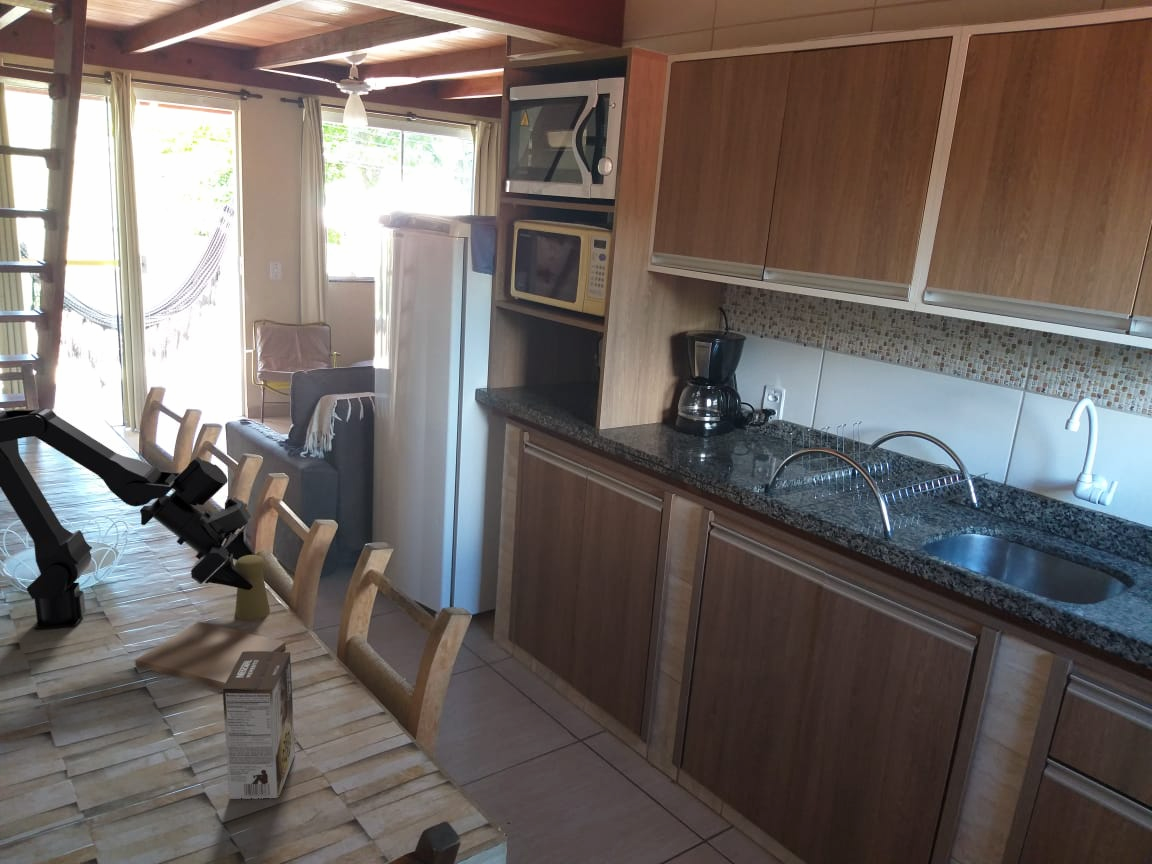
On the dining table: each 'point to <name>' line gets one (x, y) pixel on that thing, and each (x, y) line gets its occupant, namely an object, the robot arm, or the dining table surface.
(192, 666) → the walnut board
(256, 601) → the cork
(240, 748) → the coffee box
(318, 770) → the dining table surface
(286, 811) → the dining table surface
